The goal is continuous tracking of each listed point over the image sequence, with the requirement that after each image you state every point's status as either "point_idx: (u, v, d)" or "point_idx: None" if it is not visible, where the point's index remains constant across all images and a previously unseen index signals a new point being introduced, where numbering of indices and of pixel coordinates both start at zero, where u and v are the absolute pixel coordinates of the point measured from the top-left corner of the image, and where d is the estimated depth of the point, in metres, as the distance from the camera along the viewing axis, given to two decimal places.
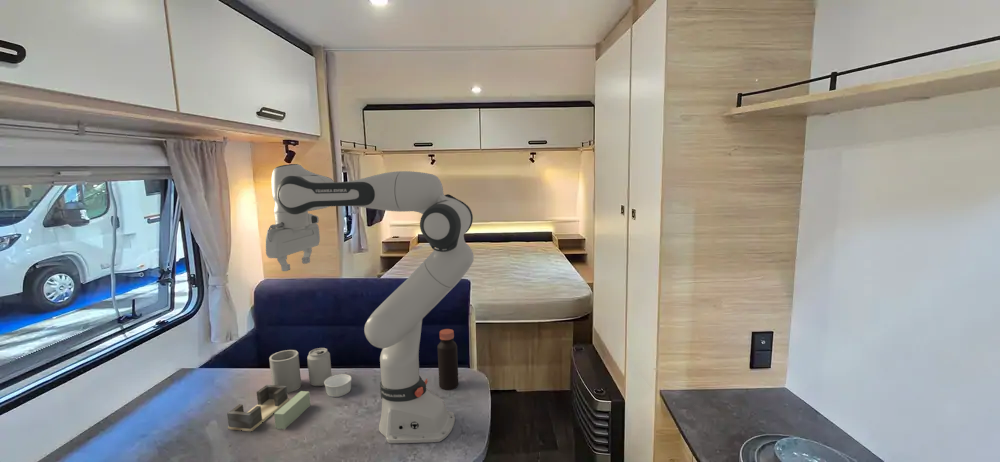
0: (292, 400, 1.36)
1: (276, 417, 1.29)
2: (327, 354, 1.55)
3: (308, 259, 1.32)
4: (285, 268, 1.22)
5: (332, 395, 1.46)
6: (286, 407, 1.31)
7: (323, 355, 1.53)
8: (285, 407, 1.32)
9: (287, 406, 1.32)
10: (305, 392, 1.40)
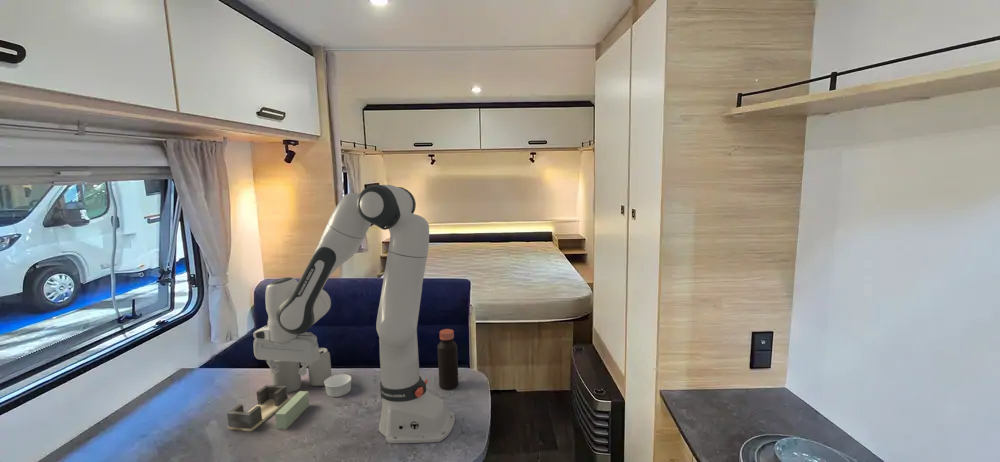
0: (292, 400, 1.35)
1: (277, 417, 1.28)
2: (327, 354, 1.55)
3: None
4: (305, 371, 1.32)
5: (332, 395, 1.46)
6: (287, 407, 1.31)
7: (323, 355, 1.53)
8: (285, 407, 1.32)
9: (287, 406, 1.32)
10: (304, 392, 1.40)
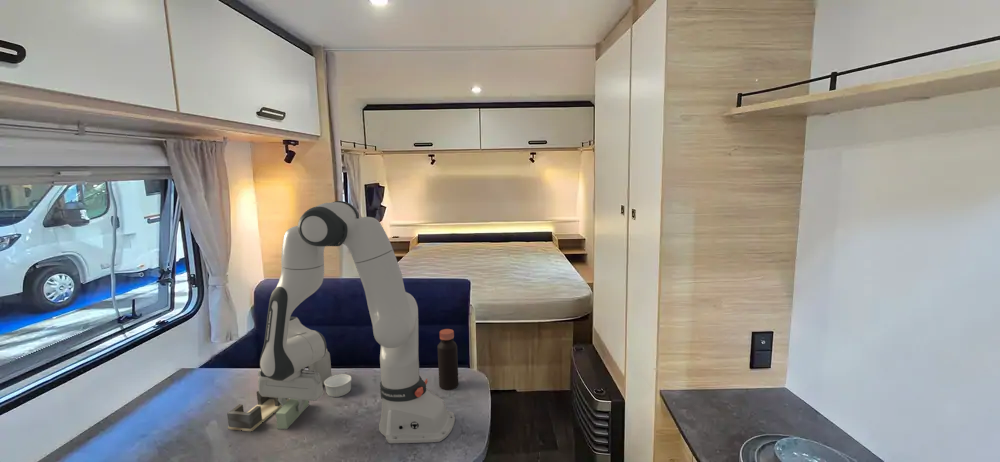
0: (292, 399, 1.35)
1: (278, 417, 1.28)
2: (327, 354, 1.55)
3: None
4: (302, 407, 1.35)
5: (332, 395, 1.46)
6: (287, 407, 1.31)
7: None
8: (285, 406, 1.32)
9: (287, 405, 1.32)
10: None
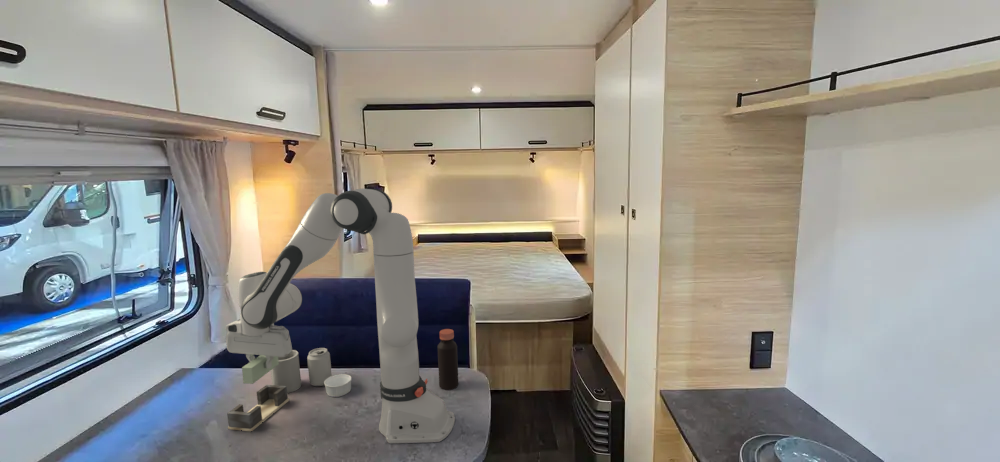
0: (260, 356, 1.35)
1: (244, 371, 1.27)
2: (327, 354, 1.55)
3: None
4: (270, 364, 1.34)
5: (332, 395, 1.46)
6: (254, 362, 1.30)
7: (323, 355, 1.53)
8: (253, 362, 1.31)
9: (255, 361, 1.31)
10: None
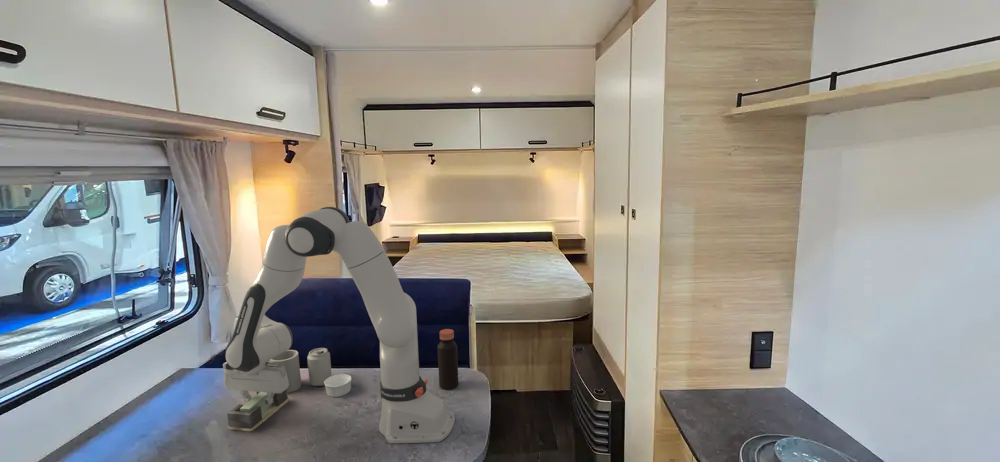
0: (258, 395, 1.37)
1: None
2: (327, 354, 1.55)
3: None
4: (272, 400, 1.36)
5: (332, 395, 1.46)
6: (252, 402, 1.33)
7: (323, 355, 1.53)
8: (251, 402, 1.33)
9: (253, 401, 1.34)
10: None
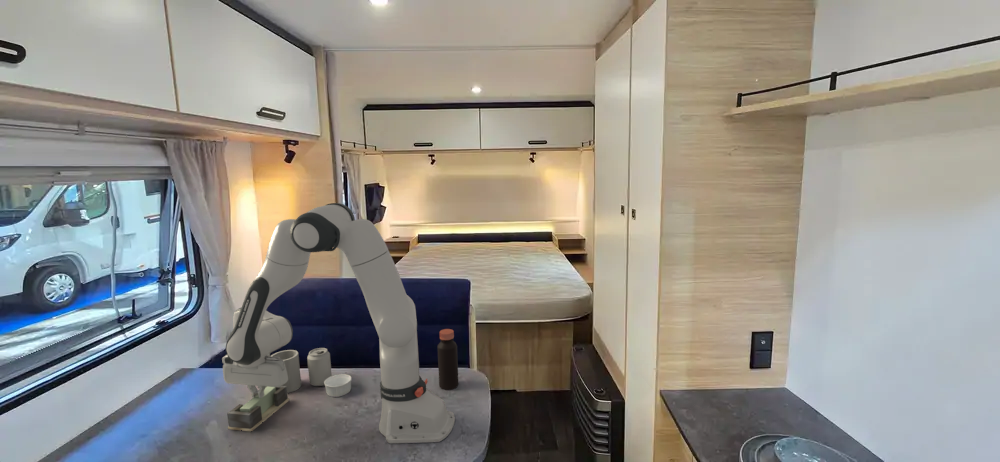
0: None
1: None
2: (327, 354, 1.55)
3: None
4: (263, 394, 1.36)
5: (332, 395, 1.46)
6: (252, 402, 1.33)
7: (323, 355, 1.53)
8: (251, 402, 1.33)
9: (253, 401, 1.34)
10: (271, 387, 1.42)
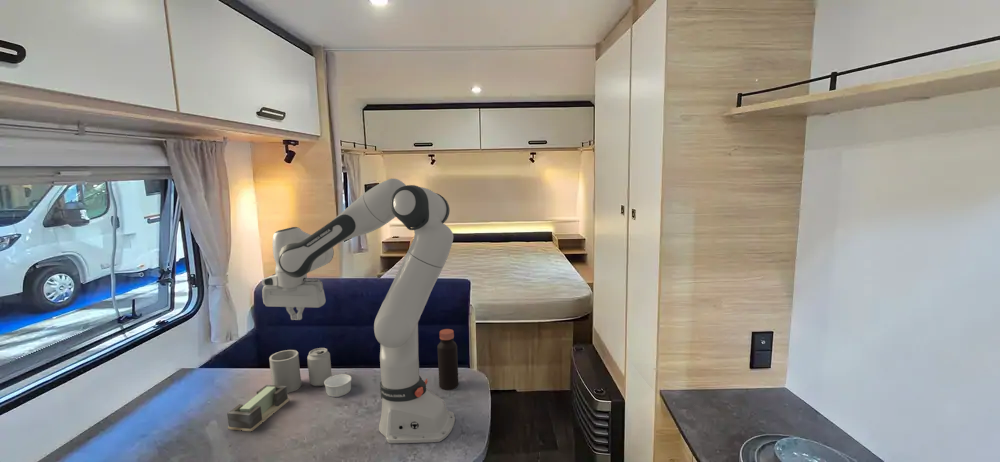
0: (258, 395, 1.37)
1: None
2: (327, 354, 1.55)
3: None
4: (301, 316, 1.40)
5: (332, 395, 1.46)
6: (252, 402, 1.33)
7: (323, 355, 1.53)
8: (251, 402, 1.33)
9: (253, 401, 1.34)
10: (271, 387, 1.42)
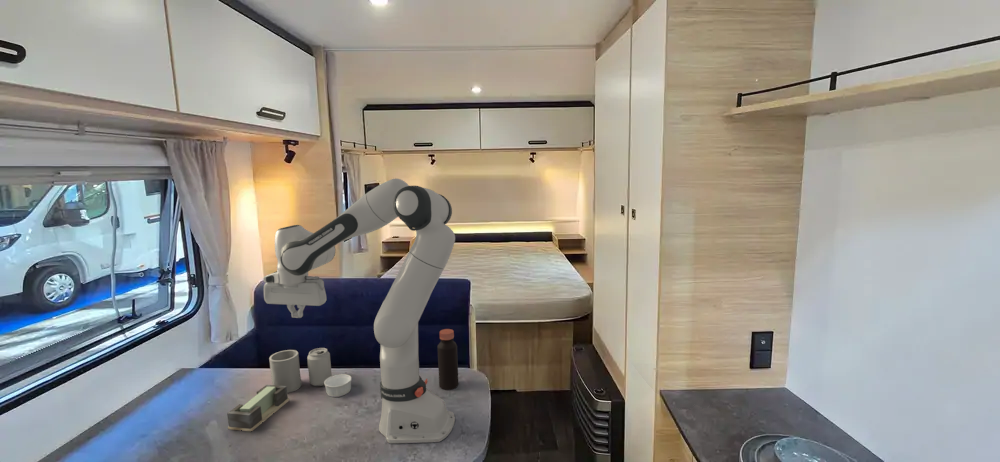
0: (258, 395, 1.37)
1: None
2: (327, 354, 1.55)
3: None
4: (301, 314, 1.40)
5: (332, 395, 1.46)
6: (252, 402, 1.33)
7: (323, 355, 1.53)
8: (251, 402, 1.33)
9: (253, 401, 1.34)
10: (271, 387, 1.42)
